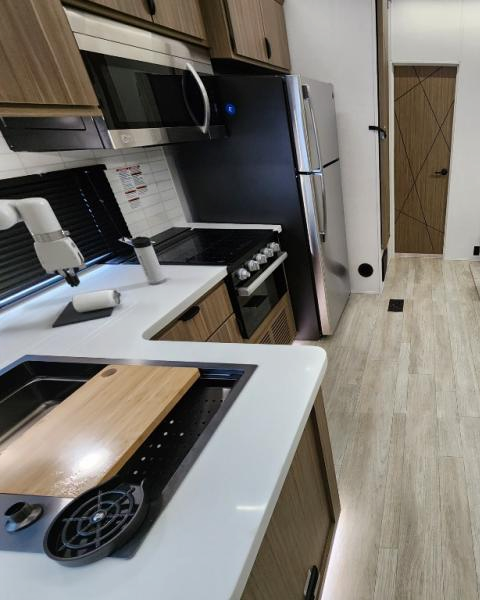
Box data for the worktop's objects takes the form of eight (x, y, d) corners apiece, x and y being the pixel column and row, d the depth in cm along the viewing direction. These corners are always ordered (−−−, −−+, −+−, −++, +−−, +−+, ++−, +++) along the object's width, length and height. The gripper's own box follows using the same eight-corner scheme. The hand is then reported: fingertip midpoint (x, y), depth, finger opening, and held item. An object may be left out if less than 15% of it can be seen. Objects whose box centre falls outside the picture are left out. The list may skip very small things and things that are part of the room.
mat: (52, 327, 113) (51, 325, 113) (70, 303, 129) (69, 301, 129) (110, 316, 120) (109, 314, 120) (120, 294, 136) (120, 292, 135)
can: (71, 308, 116) (113, 301, 121) (70, 292, 118) (112, 285, 123) (82, 315, 122) (121, 308, 126) (80, 299, 124) (120, 293, 128)
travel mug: (163, 277, 150) (146, 234, 140) (167, 281, 146) (150, 238, 136) (147, 281, 146) (129, 238, 137) (150, 286, 142) (132, 241, 132)
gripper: (81, 230, 117) (103, 277, 126) (24, 236, 111) (52, 285, 119) (74, 236, 111) (99, 285, 120) (14, 243, 105) (44, 294, 114)
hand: (75, 285), depth 120 cm, fingers closed
